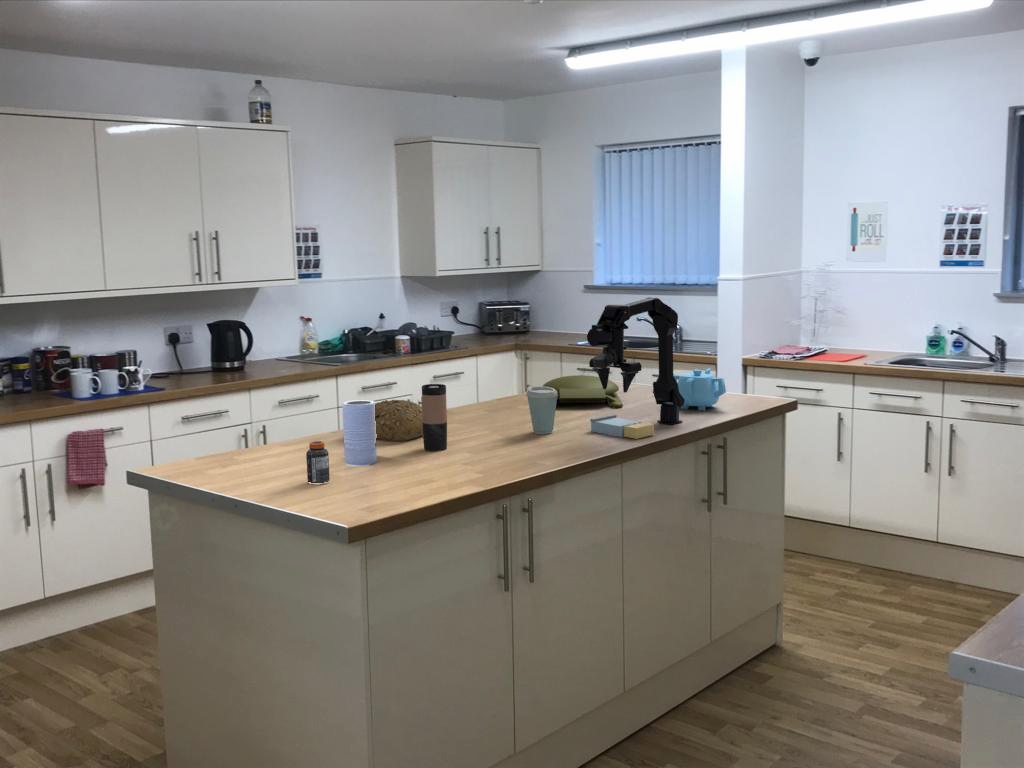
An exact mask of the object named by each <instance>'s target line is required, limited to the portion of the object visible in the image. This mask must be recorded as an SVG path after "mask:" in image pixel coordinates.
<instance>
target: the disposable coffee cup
mask: <svg viewBox="0 0 1024 768" xmlns="http://www.w3.org/2000/svg"><path fill="white" fill-rule="evenodd" d="M557 395H558V394H557V391H556V390H555V389H553V388H550V387H544V386H543V385H541V386H539V385H537V386H531V387H529V388H527V391H526V395H525V396H526V397H527V401H528V408H529V414H530V419H531V424H532V431H533V433H534V434H536V435H537V434H538V435H547V434H551V433H553V430H554V428H555V427H554V425H555V417H556V409H557V402H558V401H557V400H558V399H557Z"/></svg>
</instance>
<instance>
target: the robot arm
mask: <svg viewBox="0 0 1024 768" xmlns="http://www.w3.org/2000/svg"><path fill="white" fill-rule="evenodd" d="M644 313H647V315H648V316H649V318H650V319H652V326H653V329H654V331H655V333H656V334H657V339H658V340H657V345H658V346H657V347H658V349H657V350H658V377H657V378H656V381H653V382H652V388H653V389H652V394H653V397H654V399H655V404H656V405H660V411H659V414H660V415H659V416H660V417H659V420H656V421H657V422H656V423H661V424H666V425H674V424H679V423H680V424H681V423H683V420H682V419H681V420H680V408H681V407H682V406H683V405H684V402H685V399H684V398H683V397H682V395H681V394H680V393H679V388H678V380H677V381H676V380H675V378H674V376H673V374H674V333H675V332H676V330H677V328H678V322H679V314H678V313H677V312H676V310H674V309H673V308H672V307H671V306H669V305H668V304H667V303H664V302H663V301H662V299H660V298H658V297H649V296H647V297H646V298H644V299H640V300H636V301H632V302H629V303H626V304H607V305H605V306H604V309H603V311H602V312H601V315H600V316H599V319H598V320H597V323H596V324H591V328H590V329H589V330H588V332H587V335H586V339H587V342H588V344H589V345H590V346H592V347H598V346H603V348H602V352H601V353H597V354H596V355H595V356H593V357H592V358H591V359H589V362H588V363H589V368H591V370H592V371H595V372H596V374H597V376H598V377H599V378H600V381H601V384H602V387H603V389H606V388H607V384H608V380H609V379H610V378H609V377H610V370H611V368H616V369H620V370H621V372H619V373H620V375H621V376H622V389H623V390H622V391H623V393H627V392H628V390H629V389H630V387H631V384H632V382H633V380H634V378H635V377H636V375H637V374H639V372H641V371H642V363H641V362H640V361H631V360H630V361H627V358H625V350H627V346H625V342H624V341H625V340H624V339H625V338H624V337H625V335H624V334H625V330H628V329H629V326H628V325H627V324H626V323H625V322H627V321H629V320H630V319H631V317H633V316H637V315H640V314H644Z"/></svg>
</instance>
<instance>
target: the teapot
mask: <svg viewBox="0 0 1024 768" xmlns="http://www.w3.org/2000/svg"><path fill="white" fill-rule="evenodd" d="M711 370H712V368H711V367H708V368H707V369H705V371H704V373H702V369H693V370H692V372H688V373H684V374H676V373H675V374H674V373H673V376H674V378H675V380H676V381H677V383H678V388H679V393H680V394H681V395H682V397H683V398H684V399H685V402H684V405H683V406H681V407H680V409H681V410H682V409H683V410H688V409H689V407H697V410H698V411H700V410H705V411H707V409H706V408H707V407H712V408H714V407H713V405H716V404H717V403H718V401H719V399H720V397H721V396H722V395H724V394H725V393H727V389H726V383H725V378H724V377H716V376H715V374H711Z"/></svg>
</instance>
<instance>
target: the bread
mask: <svg viewBox="0 0 1024 768" xmlns="http://www.w3.org/2000/svg"><path fill="white" fill-rule="evenodd" d="M374 404H375V421H376V434H377V439H376V440H385V441H389V442H390V441H394V442H405V441H409V440H413V439H416V438H420V437H421V436H423V424H422V423H423V422H422V405H420V404H417V403H416V402H413V401H411V400H405V399H391V400H387V399H386V400H382V401H380V402H376V403H374Z"/></svg>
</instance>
